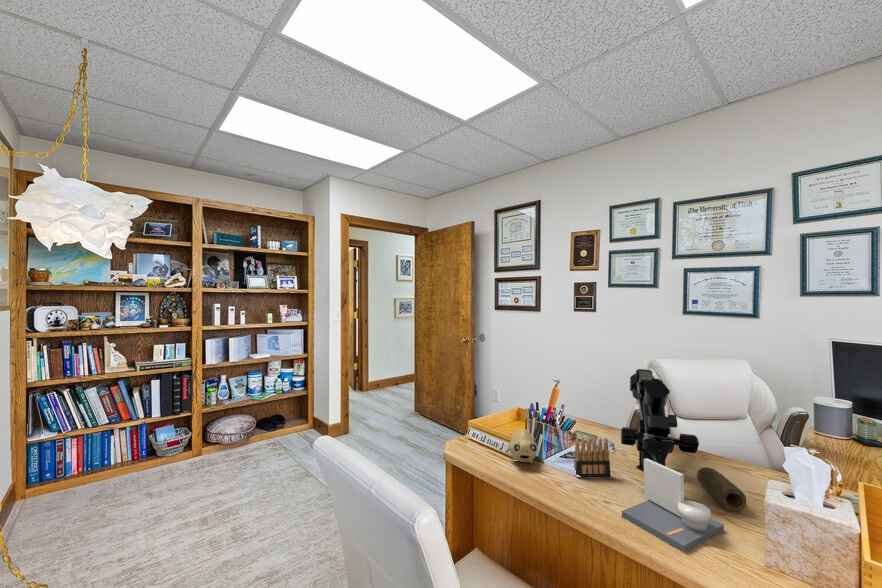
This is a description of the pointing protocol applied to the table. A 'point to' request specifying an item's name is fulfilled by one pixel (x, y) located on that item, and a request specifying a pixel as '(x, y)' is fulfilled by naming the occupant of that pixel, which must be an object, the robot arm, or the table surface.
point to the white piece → (671, 492)
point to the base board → (671, 525)
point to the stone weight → (721, 489)
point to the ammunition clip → (592, 459)
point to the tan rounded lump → (523, 446)
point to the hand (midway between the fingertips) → (661, 470)
